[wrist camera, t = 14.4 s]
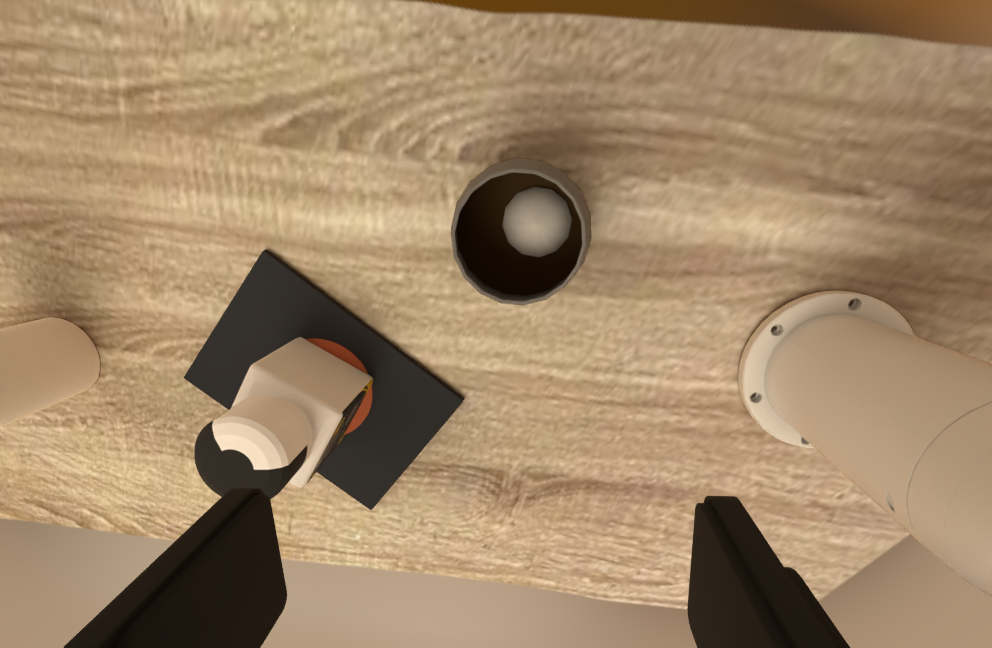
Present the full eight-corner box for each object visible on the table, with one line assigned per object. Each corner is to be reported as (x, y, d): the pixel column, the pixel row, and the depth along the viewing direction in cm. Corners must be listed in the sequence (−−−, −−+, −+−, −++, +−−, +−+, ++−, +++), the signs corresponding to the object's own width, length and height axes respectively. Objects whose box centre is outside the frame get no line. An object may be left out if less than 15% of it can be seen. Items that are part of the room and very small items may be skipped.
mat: (464, 398, 40) (463, 401, 39) (373, 506, 44) (370, 511, 43) (267, 249, 38) (262, 250, 37) (188, 375, 42) (182, 378, 41)
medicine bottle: (340, 442, 41) (264, 537, 30) (267, 402, 41) (161, 482, 29) (375, 377, 39) (309, 452, 28) (299, 334, 39) (200, 392, 27)
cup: (539, 135, 34) (541, 111, 25) (609, 242, 36) (636, 259, 26) (436, 213, 36) (401, 219, 27) (506, 311, 38) (497, 350, 28)
